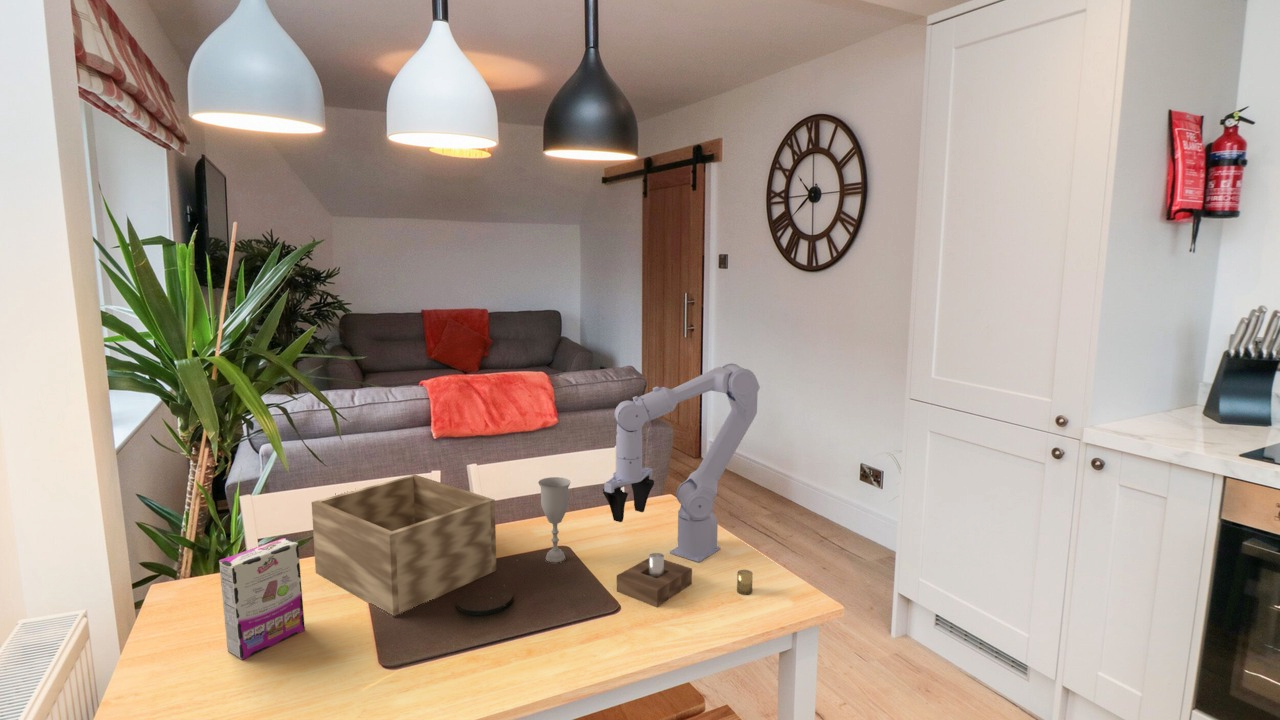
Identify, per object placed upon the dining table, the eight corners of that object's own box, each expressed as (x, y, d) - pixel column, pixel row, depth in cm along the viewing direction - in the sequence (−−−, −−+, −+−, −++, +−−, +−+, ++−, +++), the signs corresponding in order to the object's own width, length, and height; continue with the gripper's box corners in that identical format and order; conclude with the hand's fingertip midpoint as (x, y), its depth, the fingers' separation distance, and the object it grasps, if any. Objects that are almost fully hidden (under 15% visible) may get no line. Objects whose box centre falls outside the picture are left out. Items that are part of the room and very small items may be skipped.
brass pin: (741, 587, 136) (742, 568, 136) (754, 591, 135) (755, 572, 134) (734, 592, 134) (734, 573, 134) (747, 597, 132) (748, 577, 132)
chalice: (578, 561, 148) (577, 482, 146) (554, 570, 143) (553, 489, 141) (556, 551, 153) (555, 475, 151) (532, 560, 148) (531, 482, 146)
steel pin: (655, 584, 137) (655, 551, 137) (666, 588, 135) (666, 555, 135) (645, 589, 135) (645, 556, 134) (657, 594, 133) (657, 560, 132)
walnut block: (652, 571, 143) (652, 555, 143) (691, 584, 137) (691, 568, 137) (616, 592, 134) (616, 575, 133) (657, 607, 128) (657, 590, 127)
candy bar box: (289, 623, 121) (284, 536, 119) (305, 631, 119) (300, 542, 117) (224, 652, 112) (217, 558, 110) (240, 661, 109) (233, 565, 107)
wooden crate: (417, 539, 160) (414, 474, 158) (496, 572, 142) (494, 499, 140) (315, 575, 140) (311, 502, 138) (393, 618, 123) (389, 535, 121)
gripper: (635, 446, 155) (634, 503, 157) (593, 460, 143) (593, 521, 145) (659, 451, 151) (659, 509, 152) (618, 465, 139) (618, 528, 141)
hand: (629, 515), depth 148 cm, fingers open, 7 cm apart
